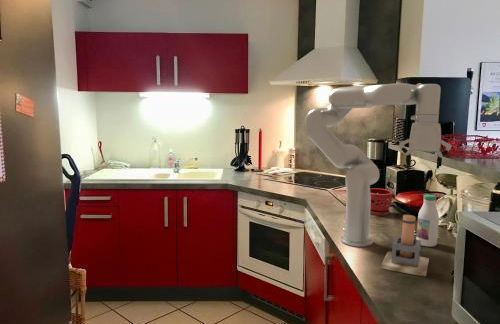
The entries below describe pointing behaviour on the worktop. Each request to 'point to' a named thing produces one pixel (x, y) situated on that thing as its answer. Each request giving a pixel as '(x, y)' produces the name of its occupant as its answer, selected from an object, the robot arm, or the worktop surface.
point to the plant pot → (380, 201)
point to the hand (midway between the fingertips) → (423, 167)
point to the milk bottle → (428, 222)
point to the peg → (407, 233)
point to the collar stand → (406, 259)
